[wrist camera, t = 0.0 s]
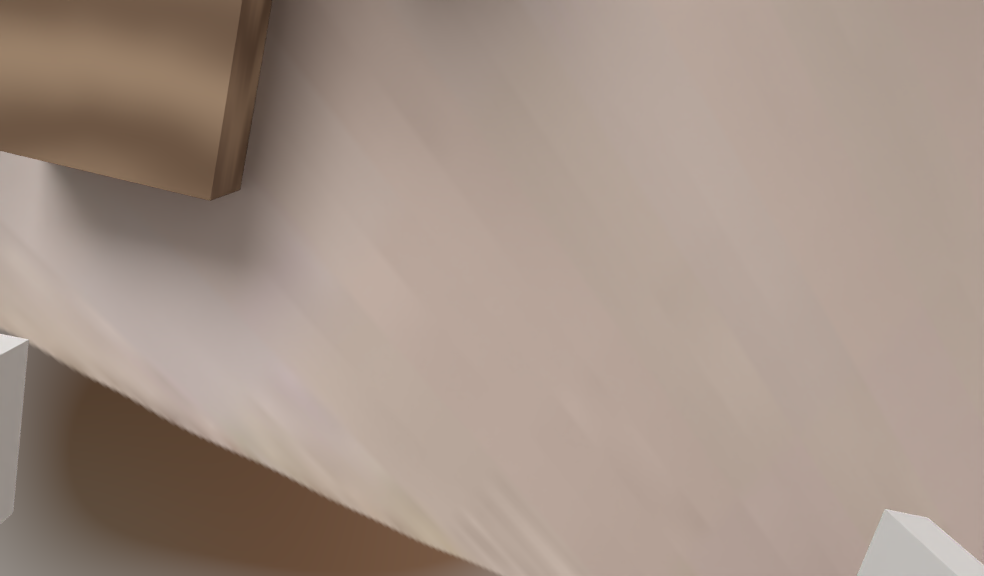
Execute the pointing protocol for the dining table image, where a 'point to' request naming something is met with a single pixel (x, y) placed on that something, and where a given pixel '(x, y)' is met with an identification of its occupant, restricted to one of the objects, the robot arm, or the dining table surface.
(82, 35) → the plinth
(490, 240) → the dining table surface
